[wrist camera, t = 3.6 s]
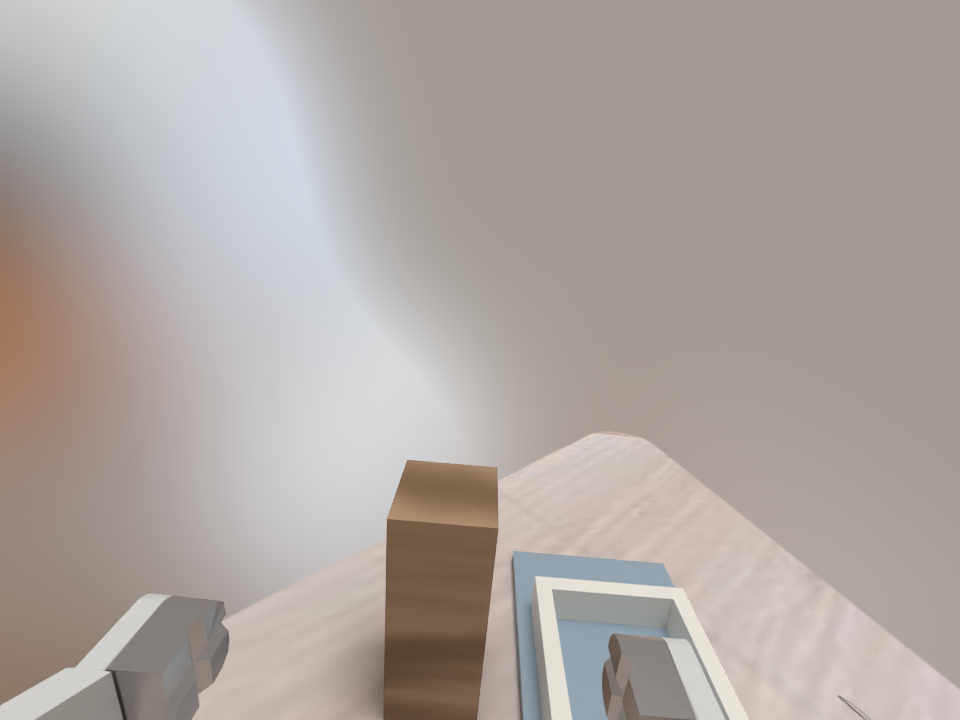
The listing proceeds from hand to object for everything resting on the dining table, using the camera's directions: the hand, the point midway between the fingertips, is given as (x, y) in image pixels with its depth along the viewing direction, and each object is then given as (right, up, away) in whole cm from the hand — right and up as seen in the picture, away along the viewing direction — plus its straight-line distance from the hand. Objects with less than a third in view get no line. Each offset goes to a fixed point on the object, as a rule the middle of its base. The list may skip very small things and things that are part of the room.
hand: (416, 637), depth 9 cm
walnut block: (-1, -13, +17) cm, 21 cm away
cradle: (+10, -13, +19) cm, 25 cm away
